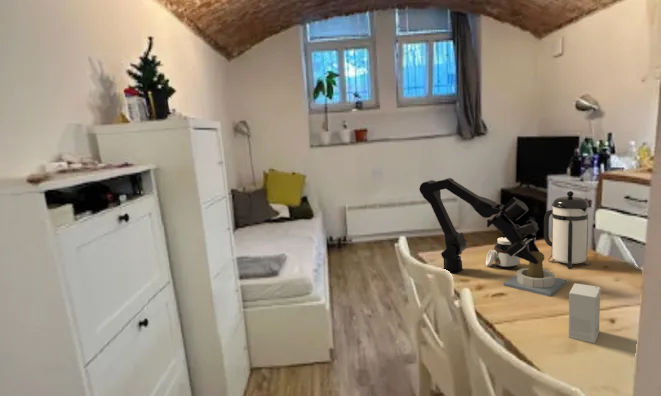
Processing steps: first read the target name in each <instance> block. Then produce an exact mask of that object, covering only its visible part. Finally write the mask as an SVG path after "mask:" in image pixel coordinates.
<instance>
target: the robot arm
mask: <svg viewBox="0 0 661 396" xmlns="http://www.w3.org/2000/svg"><path fill="white" fill-rule="evenodd" d="M418 189H419V192H420V194H421V195H422V196H423V199H424V200H426V202H428V204H429V205H430V206H431V208H432V211H433V213H434V215H435V217H436V219H437V221H438V223H439V226H440V227H441V230H442V232H443V235H444V244H445V249H444V250H443V251H442V252H441V254H440V255H441V257H442V259H443V269H446V270H448V271H450V272H451V273H450V274H455V275H456V274H458V273H460V272H461V271H464V268H463V260H462V256H461V255H462V253H463V252H464V251H465V250H466V248H467V242H468V240H467V239H466V238H465V236H464V234H463V232H460V233H459V232H458V231H457V230H456V228H455V227H454V224H453V221H452V220H451V218H450V215H449V213H448V212H447V209H446V207H445V205H444V203H443V201H442V199H441V194H442V193H441V191H442V190H447V191H448V192H450V193H451V194H453V195H455V196H456V197H458V198H459V199H461V200H462V201H465V202H466V203H467V204H469V205H470V206H471V207H472V208H473V210H474V211H475V212H476V213H478V215H480V216H481V217H482V218H484V219H486V222H487V223H486V228H490V227H491V226H492V225H493V227H494V228H495V229H496V230H498V231H499V232H500V234H502V236H501V237H503V238H506V239H507V240H508V241H509V242H510V243H511V244H510V245H511V246H510V247H509V248H508V249H507V253H508V254H509V255H510V256H513V255H514V254H515V253H516V254H515V255H514V256H517V257H519V258H520V259H522V260H525V261H527V262H528V263H529V262H531V263H534V264H538V261H537V260H536V258H535V257H534V256H533V254H532V253H531V252H532V251H537V252H541V251H540V250H539V248H538V246H537V243H536V239H537V237H536V236H537V233H538V231H539V230H540V228H539V227H538V225H539V223H537V222H536V221H534V220H533V219H529V220H527V221H526V222H525V223H526V224H523V225H522V226H521V225H520V224H515V223H514V222H513V221H517V220H518V219H520V218H521V217H523V216H524V215H525V214H526V213H527V212H528V211H529V207H528V206H527V204H526V203H525V202H524V201H522V200H520V199H517V198H516V197H515V196H514V197H512V198H511V199H510V200H509V201H508V202H507V203H506V204H499V203H497V202H496V201H494V200H492V199H490V198H487V197H484V196H481V195H480V196H479V195H478V194H476V193H475V192H473V191H472V190H470V189H468V188H466V187H465V186H463V185H462V184H460V183H459V182H457V181H456V180H455V179H453V178H452V177H448V178H445V179H442V180H437V181H436V180H433V179H431V180H427V181H423V182H422V183H421V184H420V185H419V188H418ZM500 213H501V214H500ZM491 217H492V218H491Z"/></svg>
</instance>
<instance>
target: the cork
mask: <svg viewBox="0 0 661 396" xmlns="http://www.w3.org/2000/svg"><path fill="white" fill-rule="evenodd" d="M531 253H532V254H533V256H534V257H535V258H536V260H537V261H538V264H534V263H531V262H529V261H528V267H527V268H528V272H527V277H532V278H544V274H543V269H544V268H543V266H544V265H543V262H544V260H545V255H544V253H543V252H541V251H540V252H537V251H532V252H531Z"/></svg>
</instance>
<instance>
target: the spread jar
mask: <svg viewBox="0 0 661 396" xmlns="http://www.w3.org/2000/svg"><path fill="white" fill-rule="evenodd" d="M510 244H511V243H510V242H509V241H508V240H507V239H506V238H503V237H502V236H501V237H498V238H497V243H496V244H495V245H494V246H493V249H489V251H488V252H487V254H486V258H485V265H486V266H488V267H491V266H492V264H493V263H495V265H496V266H497V267H498V268H499V269H504V270H513V269H516V268H518V266H519V265H520V262H521V258H519V257H517V256H514V255H515V254H516V253H515V254H514V255H513V256H510V255H509V254H508V253H507V249H508V248H509V247H510V246H511V245H510Z"/></svg>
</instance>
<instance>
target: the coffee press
mask: <svg viewBox="0 0 661 396" xmlns="http://www.w3.org/2000/svg"><path fill="white" fill-rule="evenodd" d="M566 195H567V196H560V197H557V198H555V199H553V202H552V203H551V207H552V209H549V210H547V211H546V212H545V214H544V215H543V216H544V217H543V239H544V241H545V244H546V245H548V246H549V247H551V255H550V257H548V263H553V262H554V261H556V262H558V263H563V264H567V269H568V270H569V269H570V270H571V269H573V265H574V264H575V265H576V264H582V263H584V264H586V265H587V266H590V265H591V261H590V260H589V258H588V257H587V252H588V236H589V211H588V209H589V206H590V203H588V201H587V200H586V199H585V198H583V197H579V196H574V192H573V191H571V190H570V191H567V192H566ZM550 217H551V222H552V235H551V240H550V233H549V231H550V229H549V228H550ZM551 258H553V259H552V260H550V259H551ZM586 261H588V262H589V263H587V262H586Z"/></svg>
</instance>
